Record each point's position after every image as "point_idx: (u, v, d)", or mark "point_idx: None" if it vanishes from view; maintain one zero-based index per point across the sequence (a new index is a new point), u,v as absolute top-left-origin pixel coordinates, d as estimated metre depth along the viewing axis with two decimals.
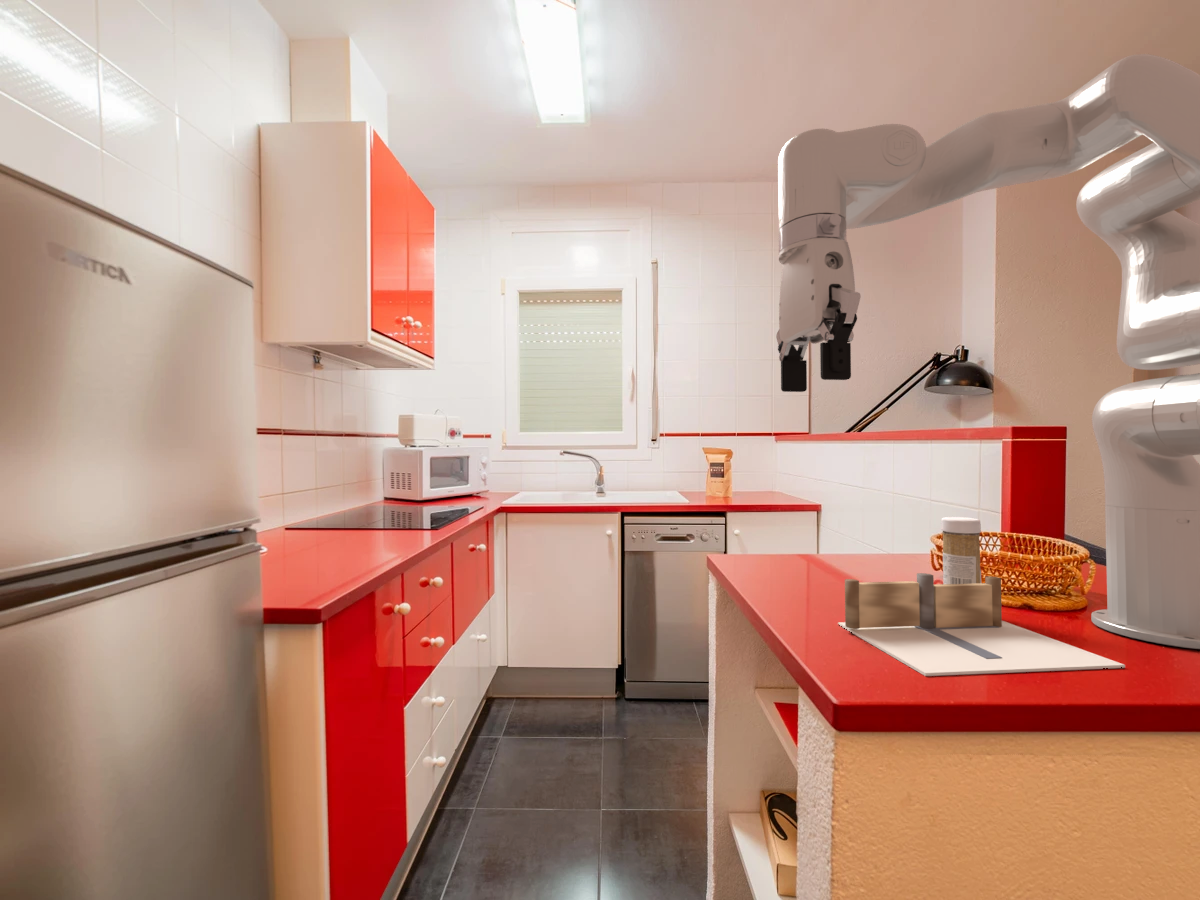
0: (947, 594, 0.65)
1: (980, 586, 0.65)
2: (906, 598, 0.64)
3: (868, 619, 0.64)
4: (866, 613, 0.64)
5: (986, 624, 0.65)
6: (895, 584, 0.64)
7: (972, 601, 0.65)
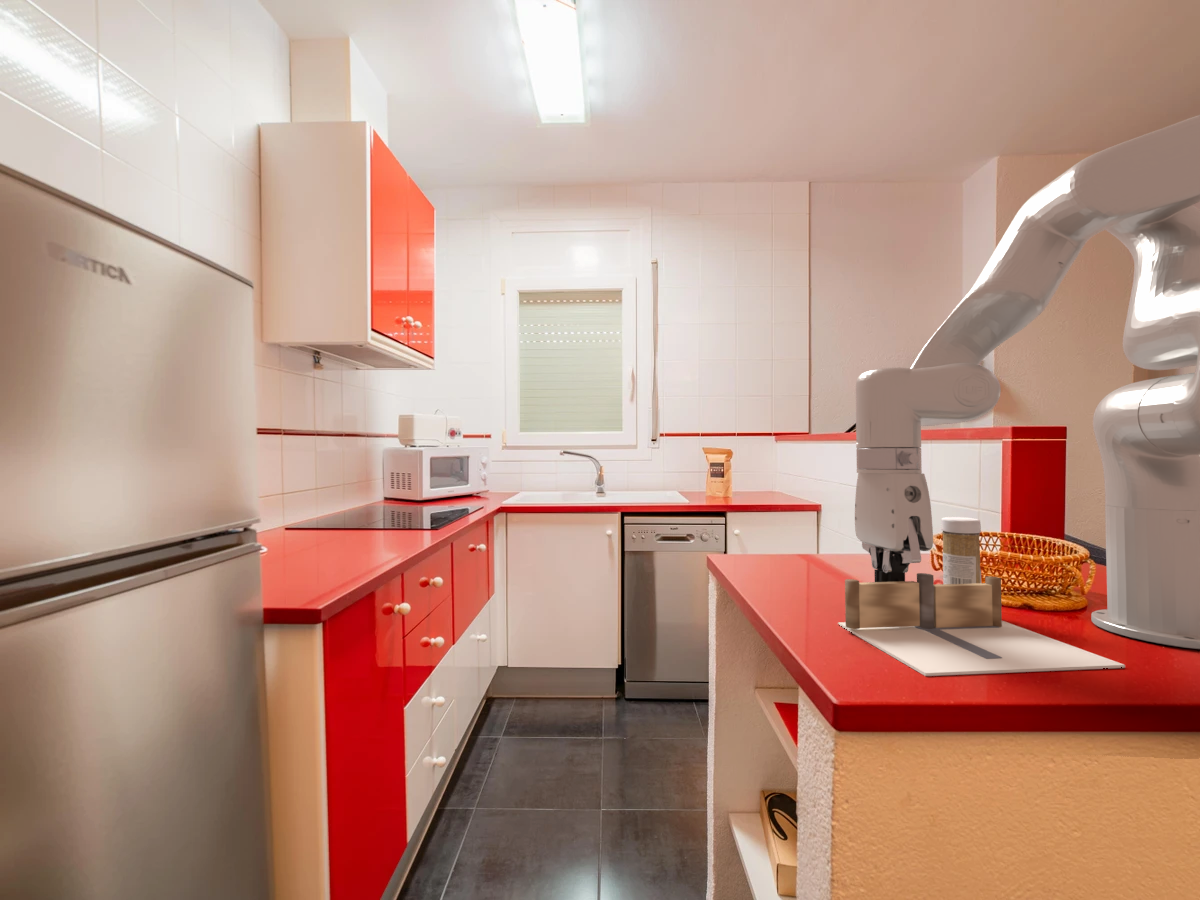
0: (947, 594, 0.65)
1: (980, 586, 0.65)
2: (906, 598, 0.64)
3: (868, 619, 0.64)
4: (866, 613, 0.64)
5: (986, 624, 0.65)
6: (895, 584, 0.64)
7: (972, 601, 0.65)
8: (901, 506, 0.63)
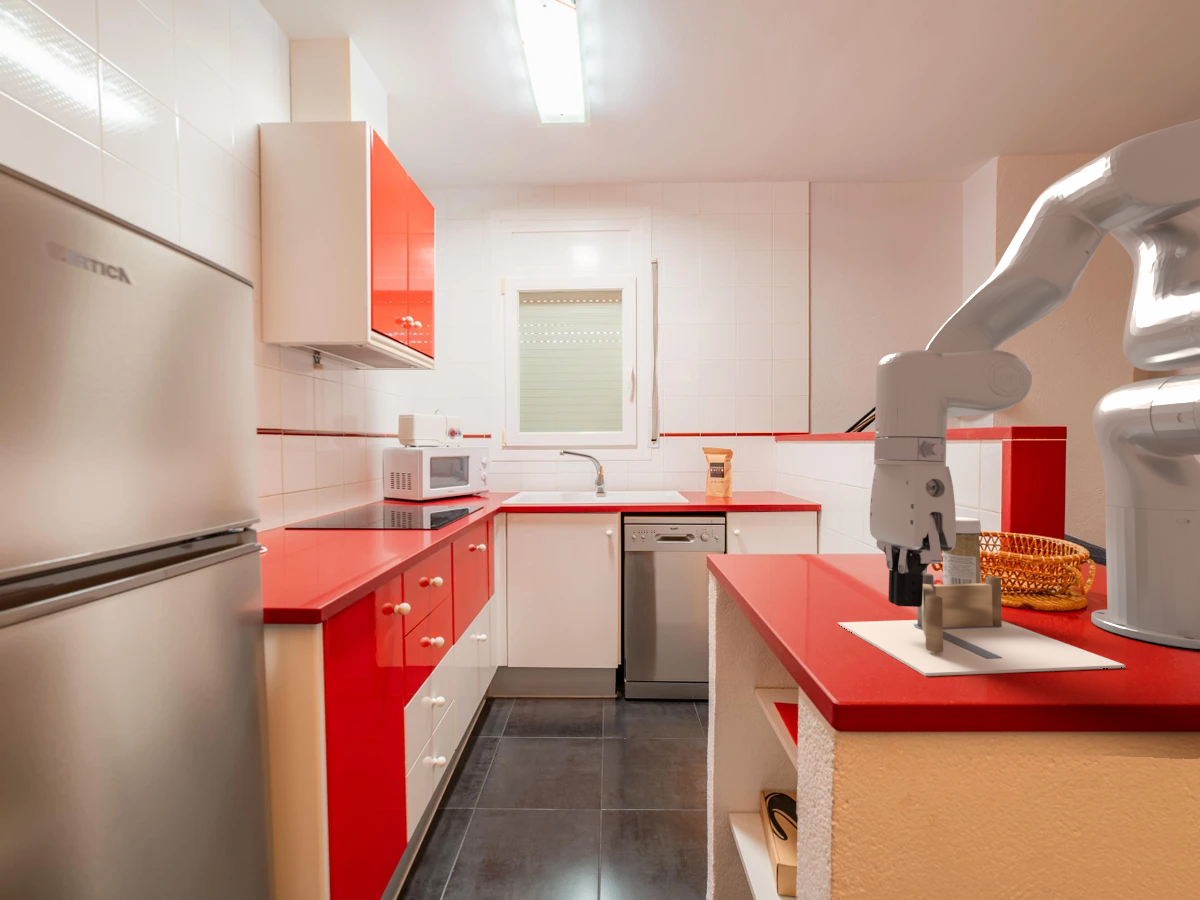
0: (947, 594, 0.65)
1: (980, 586, 0.65)
2: None
3: None
4: None
5: (986, 624, 0.65)
6: (933, 590, 0.61)
7: (972, 601, 0.65)
8: (922, 501, 0.57)
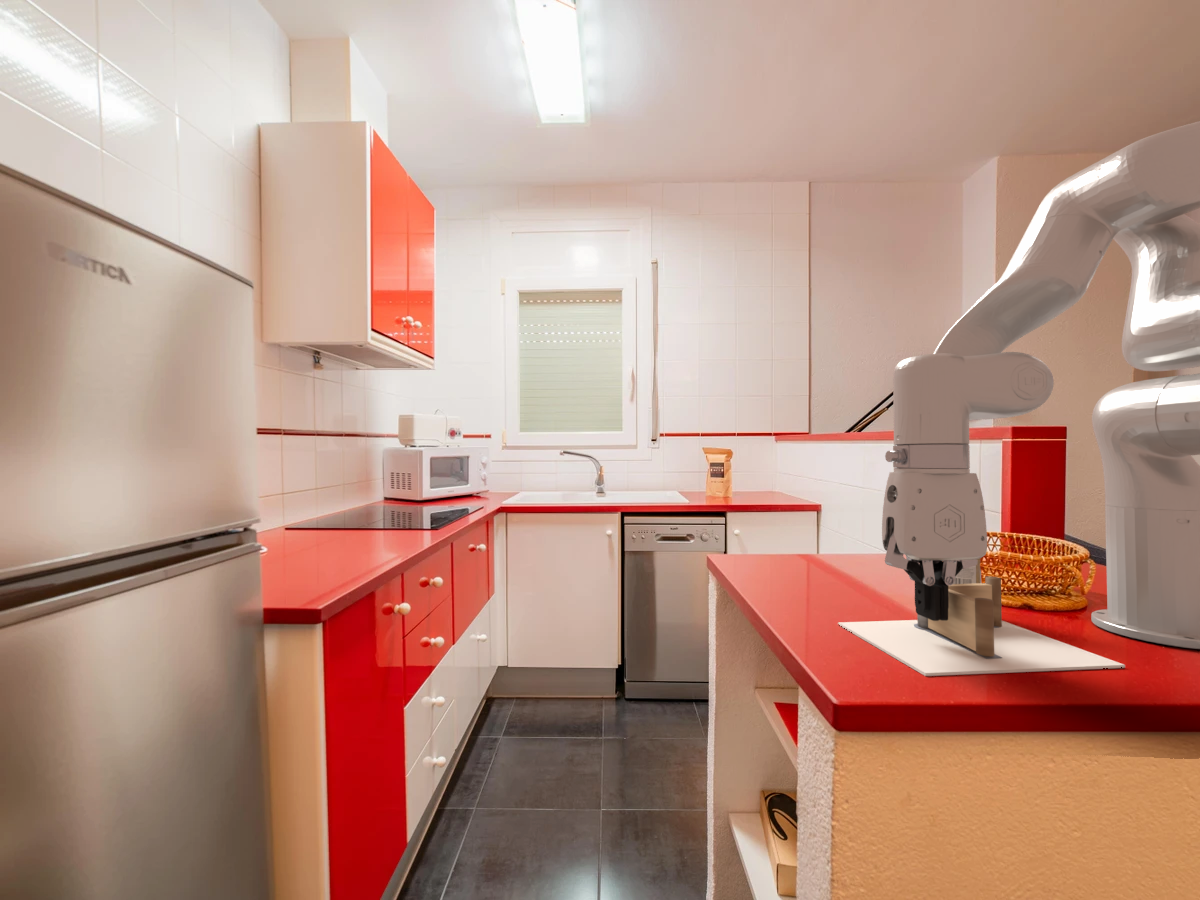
0: None
1: (980, 586, 0.65)
2: None
3: None
4: None
5: None
6: (952, 591, 0.61)
7: None
8: (884, 505, 0.61)
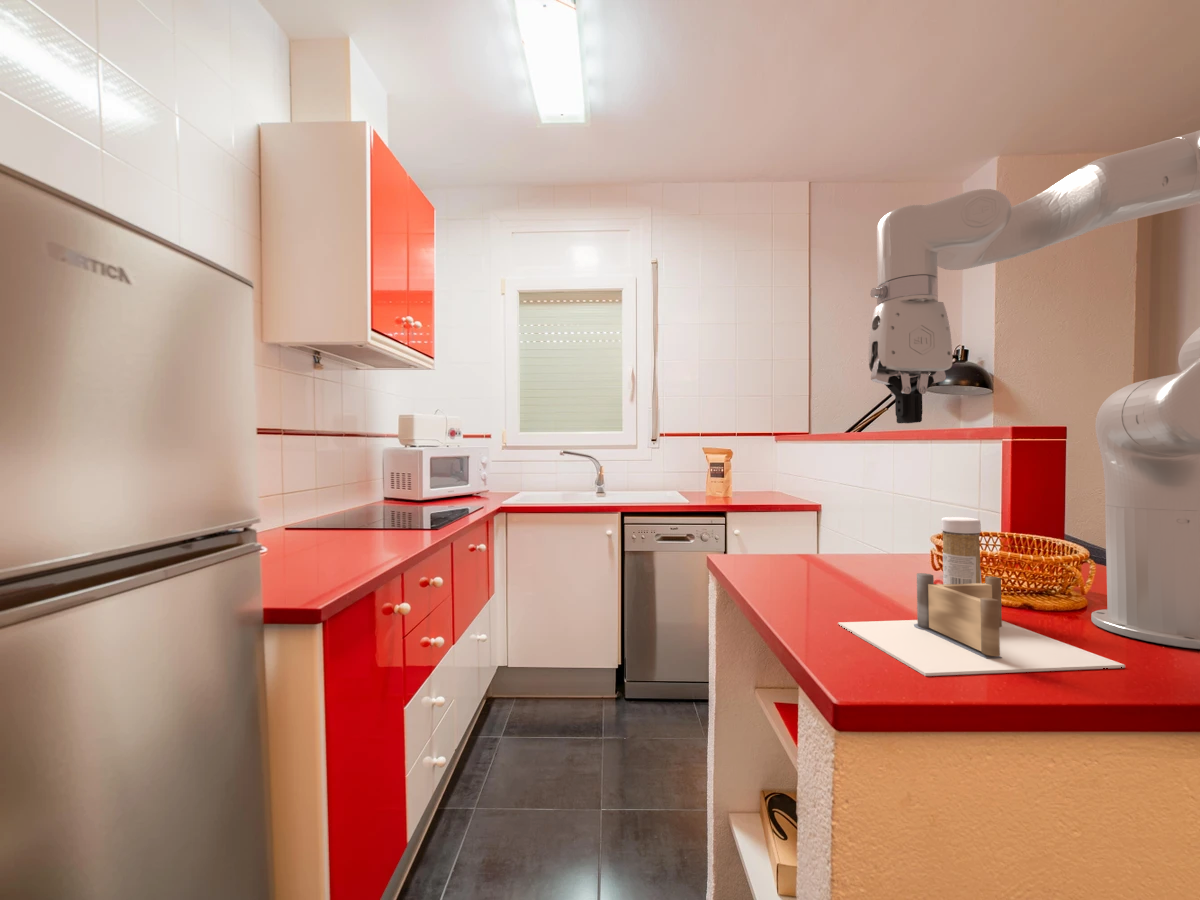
0: None
1: (980, 586, 0.65)
2: None
3: None
4: None
5: None
6: (954, 591, 0.61)
7: None
8: (870, 335, 0.75)
